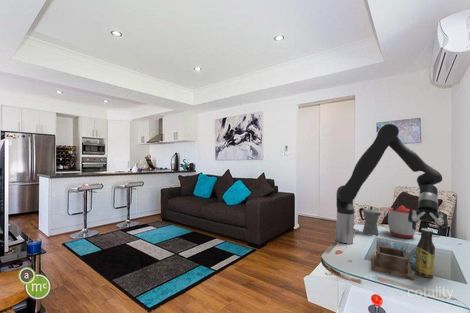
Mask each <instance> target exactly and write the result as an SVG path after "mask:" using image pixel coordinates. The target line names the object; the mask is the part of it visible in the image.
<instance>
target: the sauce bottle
mask: <svg viewBox="0 0 470 313" xmlns="http://www.w3.org/2000/svg"><path fill="white" fill-rule="evenodd" d="M420 233H421V234H420V238H419V241H418V243H417V245H416V247H415V248H416V250H415V261H414V262H415V264H414V270H415V274H417V275H418V276H421V277H422V278H428V279H431V278H433V277H434V274H435V273H434V272H435V271H434V270H435V259H436V258H435V257H436V246H435V245H434V242H433V234H434V230H432V229H429V228H421V229H420Z"/></svg>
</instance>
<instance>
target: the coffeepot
mask: <svg viewBox="0 0 470 313" xmlns="http://www.w3.org/2000/svg"><path fill="white" fill-rule="evenodd" d="M358 213H359V216H360V220H361V221H364V224H363V228H362V229H363V230H362V233H363V232H364V233H363V234H365V233H366V234H365V235H367V234H371V235H370V236H373V235H377V236H378V235H379V228H378V224H377V223H378V222H379V221H378V220H379V216H381V215H382V213H381V212H380V211H378V210H376V209H373V206H369V209H367V208H365V207H360V208H359V209H358Z"/></svg>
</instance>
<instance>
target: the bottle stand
mask: <svg viewBox="0 0 470 313" xmlns="http://www.w3.org/2000/svg"><path fill="white" fill-rule="evenodd" d="M371 270H372V271H374V270H375V272H379V273H383V274H387V273H388V274H387V275H392V276H396V277H400V278H403V279H408V280H411V281H414V280H415V277H414V276H415V275H414V273H413V270H412V267H411V264H410V262H409V257H408V254H407V251H406V250H405V249H399V248H394V247H389V246H384V245H379V244H377V245H376V254H372V256H371Z"/></svg>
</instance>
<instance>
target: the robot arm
mask: <svg viewBox="0 0 470 313" xmlns="http://www.w3.org/2000/svg"><path fill="white" fill-rule="evenodd" d="M399 132H400V129H399V127H398V126H397V125H396V124H394V123H386V124H384V125H382V126H381V127H380V128H379V129H378V131H377V135H376V137H375V139H374V140H373V142H372V143H371V145H370V146H369V147H368V148H367V149H366V150H365V151H364V152H363V153H362V155H361V157H360V158H359V159H358V161H357V162H356V164H355V165H354V169H353V171H352V173H351V175H350V178H349V179H348V180H347V182H346V183H345V184H344V185H340V186H339V187H338V188H337V190H336V224H335V241H336V242H338V241H339V242H338V243H340V242H342V243H341V244H344V243H347V244H346V245H351V243H352V244H354V229H355V228H354V225H355V224H354V222H355V220H354V219H355V209H354V200H355V198H356V197H357V195H358V194H359V191H360V190H361V188H362V186H363V185H364V183H366V180H367V179H368V178H369V177H370V175H371V174H372V172H373V171H374V170H375V168H376V167H377V166H378V164H379V162H380V161H381V159H382V157H383V156H384V153H385V151H387V149H388V147H389V148H391V150H393V151H394V152H395V154H397V156H398V157H400V159H401V160H402V161H403V162H404V164H406V166H408V168H409V169H410V170H411V171H412V172H414V173H418V172H423V173H422V174H420V175H418V176H417V178H416V182H417V185H418V188H419V196H418V201H417V202H418V203H417V210H414V209H411V208H410V210H409V216H408V221H409V222H412V229H414V230H415V232H416V231H417V230H416V229H417V223H420V222H428V223H433V224H434V225H435V226H437V236H441V235H442V234H443V229H448V225H449V222H448V215H447V214H446V213H444V214H439V198H438V197H439V196H438V193H439V192H438V187H437V186H435V185H436V184H440V183H441V182H442V181H443V175H442V174H441V173H440V172H439V171H438V170H436V169H435V168H433V167H432V166H431V165H429V164H427V163H426V162H425V161H424V160H423V159H422V158H421V157H420V155H418V154H417V153H416V152H415V151H414V150H413V149H411V148H410V147H408V146H407V145H406V144H405V143H404V142H403V141H402V140H401V139H400V137H399ZM413 210H414V211H413ZM415 214H417V216H416V218H414V219H412V215H415ZM439 218H440V219H439ZM440 220H442V222H443V223H442V222H441V221H440Z"/></svg>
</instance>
